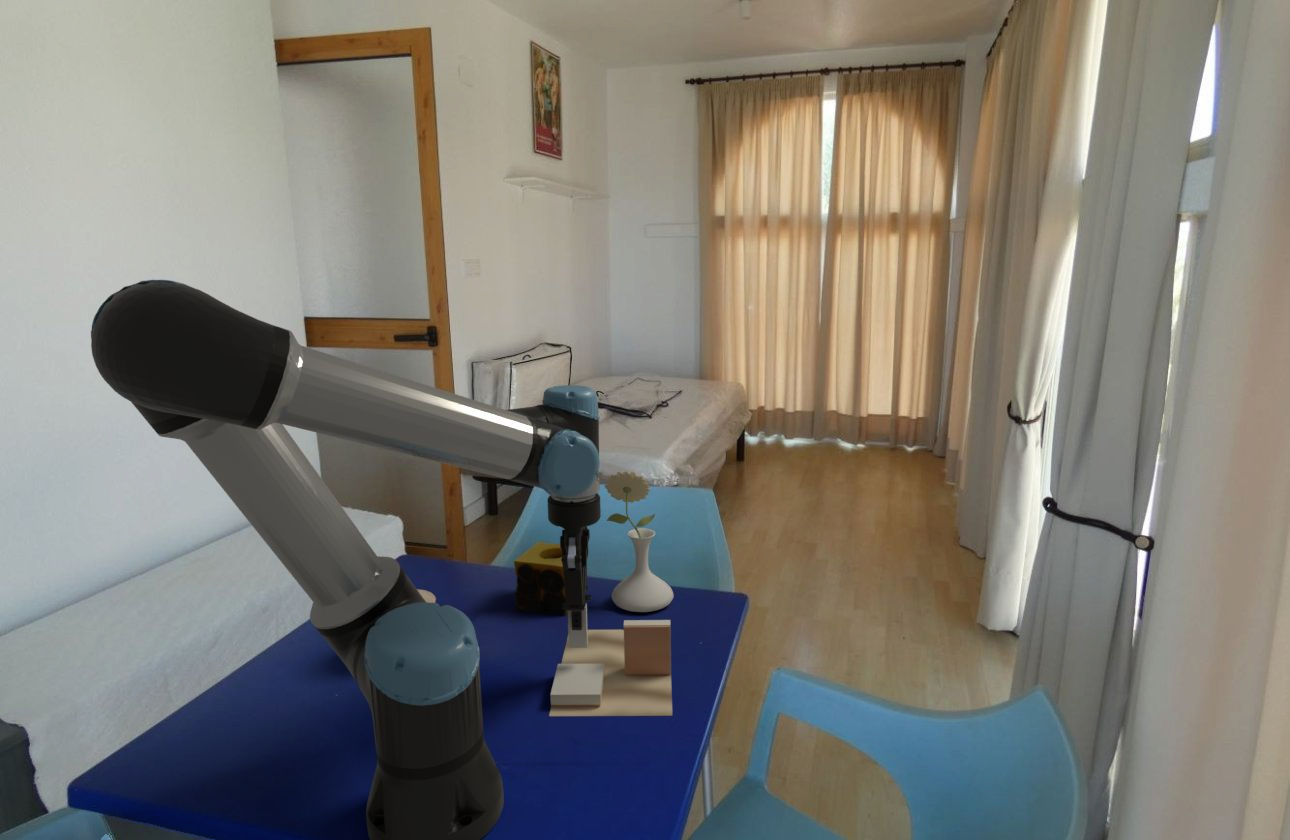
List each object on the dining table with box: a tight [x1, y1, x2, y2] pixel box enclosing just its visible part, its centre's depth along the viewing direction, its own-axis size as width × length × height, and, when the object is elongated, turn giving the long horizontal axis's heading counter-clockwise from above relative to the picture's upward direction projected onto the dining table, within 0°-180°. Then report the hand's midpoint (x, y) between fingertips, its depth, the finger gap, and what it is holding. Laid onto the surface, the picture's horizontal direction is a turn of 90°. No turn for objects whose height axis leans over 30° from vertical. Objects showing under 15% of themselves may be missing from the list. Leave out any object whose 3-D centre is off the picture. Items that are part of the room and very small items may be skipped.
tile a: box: [549, 663, 605, 707], centre depth 106 cm, size 2×7×8 cm
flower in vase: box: [604, 470, 674, 613], centre depth 132 cm, size 13×11×25 cm
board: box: [548, 629, 673, 717], centre depth 113 cm, size 24×17×1 cm
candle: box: [513, 541, 568, 617], centre depth 134 cm, size 10×10×10 cm
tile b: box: [623, 619, 672, 675], centre depth 111 cm, size 2×7×8 cm, turn 89°
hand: (578, 645), depth 109 cm, fingers closed
